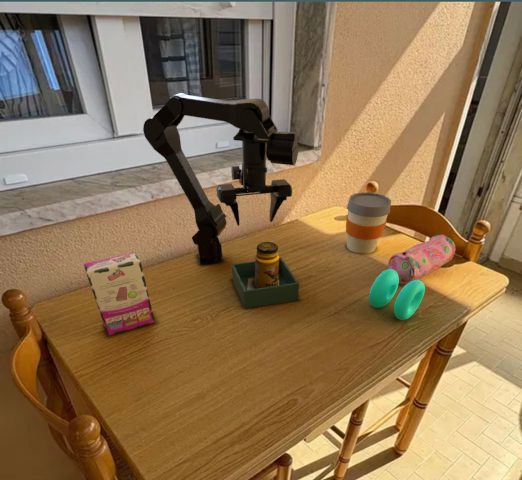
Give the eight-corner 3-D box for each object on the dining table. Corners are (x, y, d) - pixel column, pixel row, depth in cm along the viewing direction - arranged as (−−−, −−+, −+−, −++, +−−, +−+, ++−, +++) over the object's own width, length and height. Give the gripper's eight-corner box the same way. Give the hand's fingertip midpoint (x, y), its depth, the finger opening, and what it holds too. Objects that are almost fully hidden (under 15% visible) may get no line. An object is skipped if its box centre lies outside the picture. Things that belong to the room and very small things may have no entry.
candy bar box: (150, 312, 94) (136, 251, 83) (155, 323, 90) (141, 260, 80) (103, 324, 90) (82, 262, 79) (107, 336, 87) (86, 273, 76)
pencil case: (406, 291, 102) (416, 261, 96) (379, 277, 107) (387, 247, 101) (452, 268, 111) (463, 239, 105) (425, 256, 117) (434, 228, 111)
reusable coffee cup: (385, 256, 117) (397, 207, 107) (344, 256, 117) (352, 207, 107) (376, 238, 126) (386, 192, 116) (338, 238, 126) (345, 191, 116)
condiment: (278, 295, 99) (280, 252, 91) (246, 294, 99) (245, 251, 91) (279, 280, 104) (281, 239, 96) (248, 279, 104) (247, 238, 96)
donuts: (384, 295, 100) (393, 261, 94) (419, 311, 95) (432, 276, 88) (363, 311, 95) (371, 275, 88) (399, 328, 90) (410, 292, 83)
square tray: (244, 308, 95) (244, 291, 92) (232, 280, 106) (231, 263, 102) (297, 300, 98) (299, 283, 95) (280, 273, 109) (281, 257, 105)
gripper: (280, 150, 100) (278, 208, 111) (210, 155, 97) (215, 215, 107) (294, 161, 92) (290, 224, 103) (219, 167, 88) (223, 231, 99)
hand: (254, 223), depth 103 cm, fingers open, 9 cm apart
